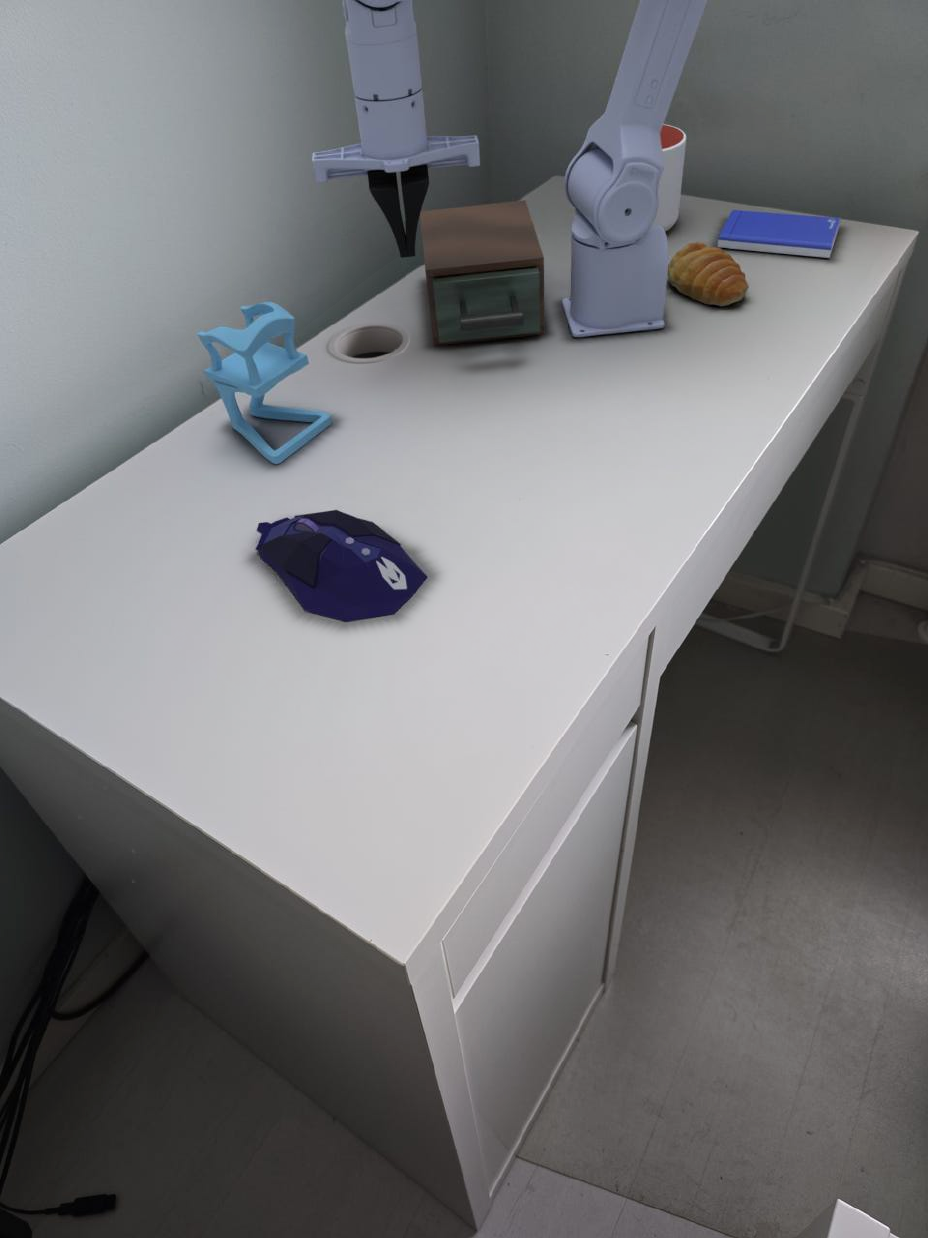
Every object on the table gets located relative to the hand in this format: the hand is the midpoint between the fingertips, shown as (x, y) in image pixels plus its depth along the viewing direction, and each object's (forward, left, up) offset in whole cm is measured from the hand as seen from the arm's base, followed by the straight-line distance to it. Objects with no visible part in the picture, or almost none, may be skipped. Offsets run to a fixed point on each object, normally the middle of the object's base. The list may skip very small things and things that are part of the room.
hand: (407, 252), depth 82 cm
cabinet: (-7, -8, -10) cm, 15 cm away
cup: (-28, -25, -11) cm, 39 cm away
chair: (+14, +12, -11) cm, 21 cm away
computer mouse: (+8, +32, -11) cm, 34 cm away
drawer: (-7, -4, -9) cm, 13 cm away
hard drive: (-43, -17, -11) cm, 47 cm away
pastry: (-32, -7, -11) cm, 34 cm away
